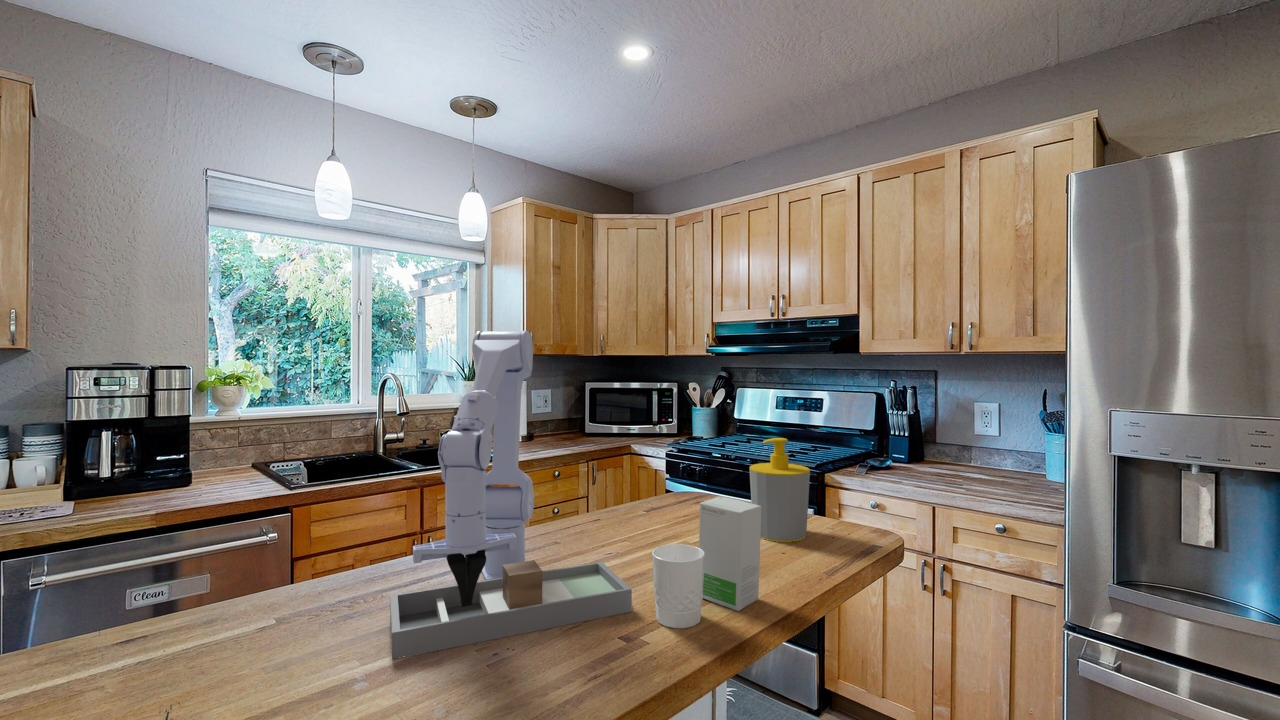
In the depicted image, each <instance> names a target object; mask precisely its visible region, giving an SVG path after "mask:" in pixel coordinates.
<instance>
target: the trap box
mask: <svg viewBox="0 0 1280 720" xmlns="http://www.w3.org/2000/svg"><path fill="white" fill-rule="evenodd" d="M632 591H633V590H632V588H631V587H630V586H629V585H627V583H626V582H625V581H624V580H622V578H620V576H619V575H617V574H616V573H614V571H612V570H611V569H610V568H609V567H608V566H607V565H606V564H605V563H604V562H603V561H599V562H593V563H585V564H579V565H573V566H567V567H561V568H555V569H548V570H542V604H538V605H532V606H527V607H521V608H516V609H510V610H509V608H508V606H507V604H506V602H505V600H504V599H503V578H496V579H490V580H486V579H484V580H479V581H477V584H476V587H475V590H474V594H473V599H472V605H469V606H464V607H462V605H461V602H460V593H459V589H458V585H457V584H454V585H453V584H452V585H447V586H440V587H434V588H429V589H421V590H414V591H408V592H402V593H397V594H396V593H394V594H390V597H389V598H390V600H389V601H390V602H389V605H390V608H389V611H390V613H389V614H390V616H389V617H390V621H389V622H390V640H391V641H390V642H391V643H390V644H391V660H392V659H393V660H395V659H394V658H398V659H400V658H399V657H403V656H408V657H411V655H413V656H417V655H416V654H418V655H422V654H427V653H432V652H437V651H443V650H447V649H452V648H456V647H462V646H467V645H471V644H472V645H473V644H478V643H482V642H488V641H493V640H498V639H502V638H507V637H513V636H517V635H522V634H527V633H531V632H538V631H543V630H547V629H553V628H557V627H562V626H563V627H564V626H567V625H571V624H577V623H581V622H587V621H593V620H597V619H603V618H607V617H612V616H617V615H623V614H627V613H632V609H633V608H632V607H633V606H632V605H633V604H632V600H633V599H632V597H633V596H632ZM403 658H404V657H403Z"/></svg>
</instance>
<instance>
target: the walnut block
mask: <svg viewBox="0 0 1280 720" xmlns="http://www.w3.org/2000/svg"><path fill="white" fill-rule="evenodd" d="M542 571H543V570H542V568H541V567H540V566H539V565H538V563H537V562H536V561H535V559H533V560H525V562H518V563H512V564H505V565H503V599H504V600H505V602H506V604H507V606H508V608H509V610H510V609H516V608H521V607H527V606H532V605H538V604H542Z"/></svg>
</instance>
